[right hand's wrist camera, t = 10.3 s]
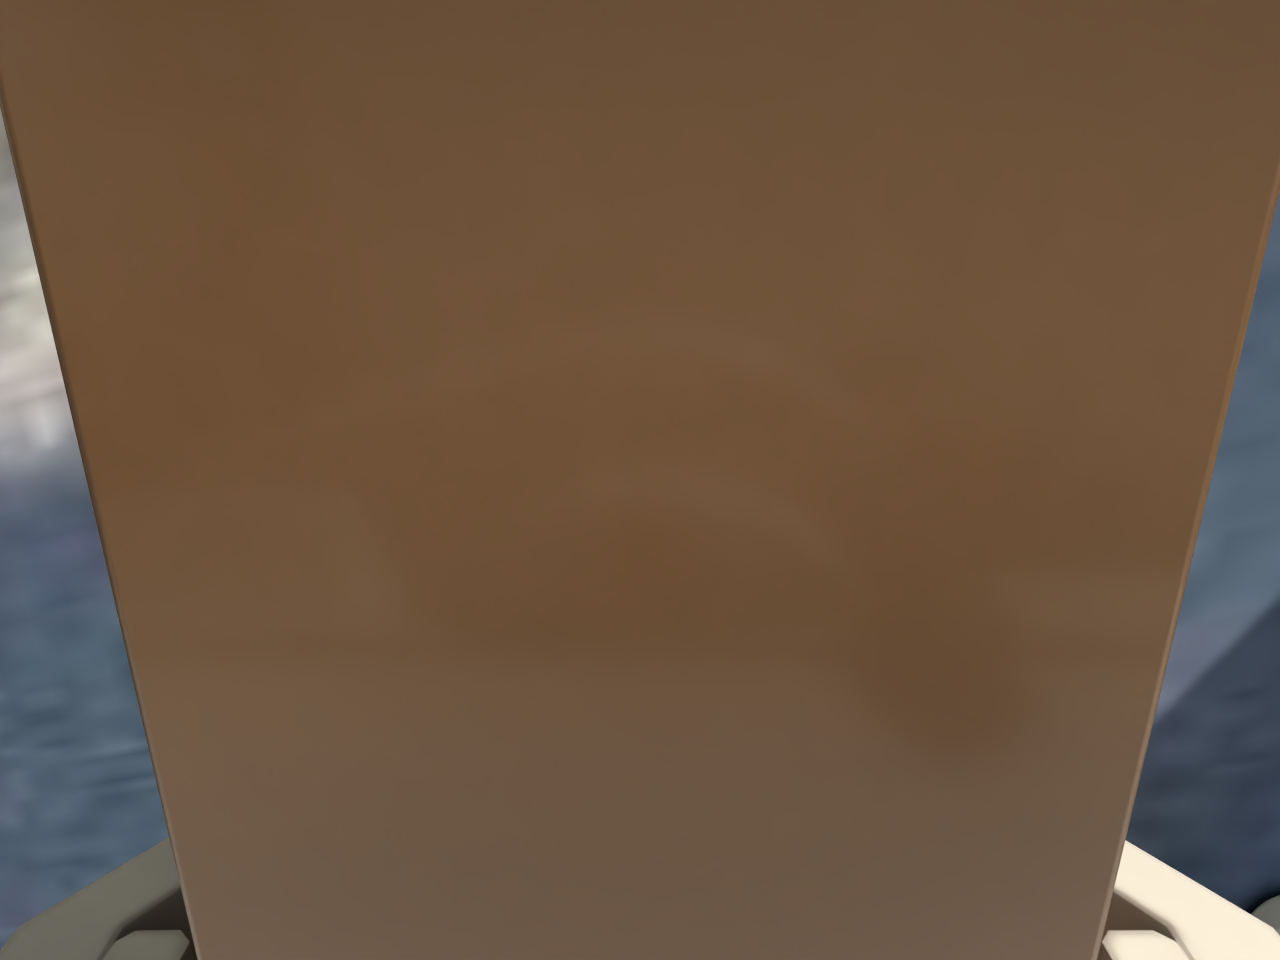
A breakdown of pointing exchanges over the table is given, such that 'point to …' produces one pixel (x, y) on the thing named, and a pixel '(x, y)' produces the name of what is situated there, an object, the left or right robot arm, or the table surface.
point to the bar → (647, 449)
